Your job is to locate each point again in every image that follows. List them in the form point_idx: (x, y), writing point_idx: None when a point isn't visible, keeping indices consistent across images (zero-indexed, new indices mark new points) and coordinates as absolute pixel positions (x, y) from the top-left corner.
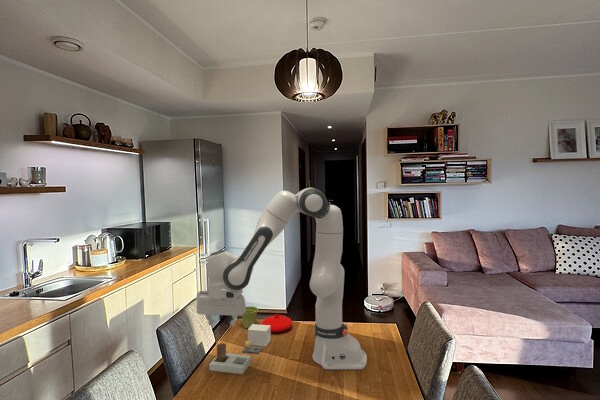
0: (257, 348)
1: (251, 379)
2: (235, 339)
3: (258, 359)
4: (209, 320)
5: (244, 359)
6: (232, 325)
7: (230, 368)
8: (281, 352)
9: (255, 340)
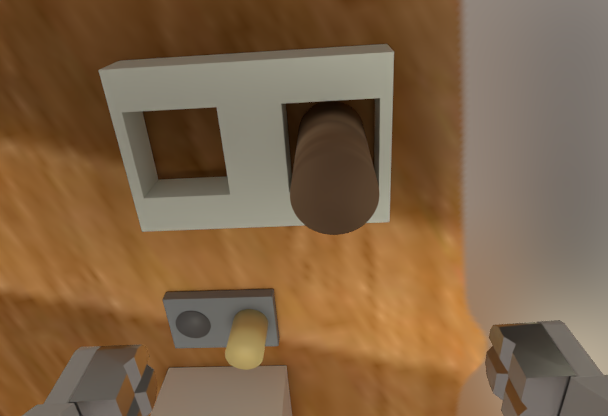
0: (191, 332)
1: (19, 14)
2: (390, 397)
3: (130, 243)
4: (584, 389)
5: (174, 192)
6: (94, 349)
7: (205, 60)
8: (51, 331)
9: (232, 390)
